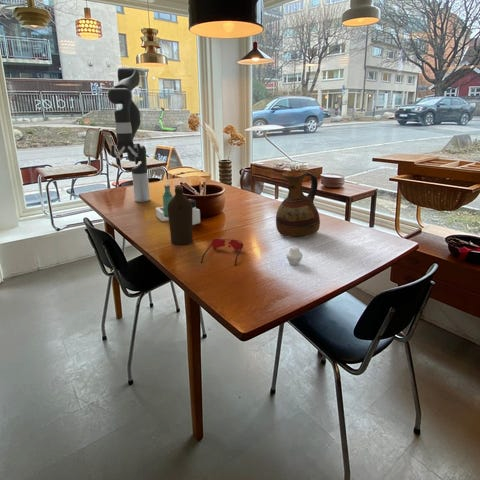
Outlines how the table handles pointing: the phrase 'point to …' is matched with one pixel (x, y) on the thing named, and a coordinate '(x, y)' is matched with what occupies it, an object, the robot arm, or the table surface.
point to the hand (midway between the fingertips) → (127, 165)
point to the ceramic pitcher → (298, 207)
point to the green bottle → (166, 199)
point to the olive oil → (180, 218)
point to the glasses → (221, 242)
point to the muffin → (294, 256)
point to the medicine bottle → (195, 213)
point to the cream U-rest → (161, 214)
